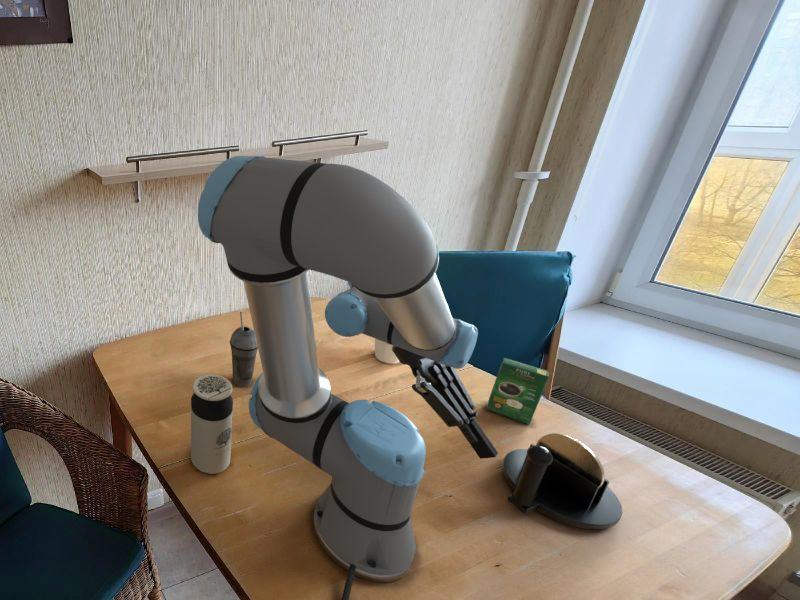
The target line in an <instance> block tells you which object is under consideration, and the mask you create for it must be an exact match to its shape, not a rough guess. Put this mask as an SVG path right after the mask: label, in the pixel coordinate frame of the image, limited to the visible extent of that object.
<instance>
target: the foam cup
mask: <svg viewBox="0 0 800 600" xmlns="http://www.w3.org/2000/svg"><path fill="white" fill-rule="evenodd" d="M392 347H393V345H388V344H387V343H386V342H383V341H380V340H378V339H375V338H374V356H375V358H376V359H377V360H378V361H380V362H383V363H386V364H389V365H390V364H391V365H396V364H399V363H400V361H399V360H398V358H397V357H396V355H395V354H394V352H393V351H392Z"/></svg>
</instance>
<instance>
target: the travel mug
mask: <svg viewBox="0 0 800 600" xmlns="http://www.w3.org/2000/svg"><path fill="white" fill-rule="evenodd" d="M191 388H192V391H193V393H192V395H191V397H190V460H191V462H192V465H193V466H194V467H195V468H196V469H197V470H198V471H200V472H202V473H206V474H209V475H213V474H220V473H222V472H224V471H226V470H227V468H228V467H229V466H230V463H231V454H232V433H233V431H232V430H233V413H234V410H233V409H234V399H233V396H231V394H232V392H233V385H232V382H230V380H229V379H227V378H226V377H224V376H221V375H219V374H213V373H212V374H203V375H200V376H198V377H197V378H196V379H194V381H193V382H192V387H191Z"/></svg>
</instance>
